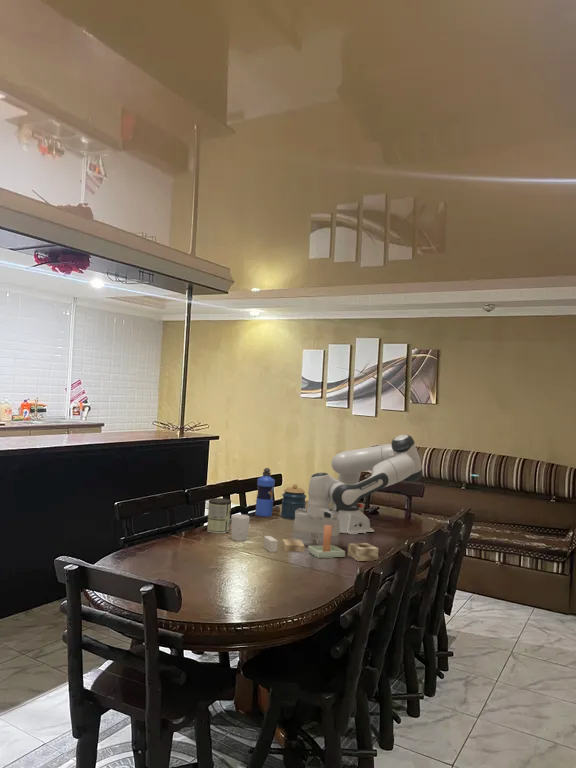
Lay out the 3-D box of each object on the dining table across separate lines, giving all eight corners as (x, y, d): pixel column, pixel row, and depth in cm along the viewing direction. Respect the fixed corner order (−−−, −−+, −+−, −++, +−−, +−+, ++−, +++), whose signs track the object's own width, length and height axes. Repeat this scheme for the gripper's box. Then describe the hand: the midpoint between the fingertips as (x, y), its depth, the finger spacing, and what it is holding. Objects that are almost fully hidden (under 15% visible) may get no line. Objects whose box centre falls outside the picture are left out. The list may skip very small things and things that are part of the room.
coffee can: (204, 528, 269) (207, 497, 269) (226, 528, 272) (228, 498, 272) (208, 533, 259) (211, 502, 259) (231, 533, 262) (233, 502, 263)
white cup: (251, 539, 254) (252, 516, 255) (242, 542, 247) (244, 518, 248) (235, 536, 258) (237, 513, 258) (226, 539, 251) (228, 516, 251)
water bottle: (274, 514, 313) (277, 468, 314) (269, 517, 304) (272, 469, 305) (258, 512, 316) (261, 466, 317) (252, 515, 307) (256, 468, 308)
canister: (282, 514, 316) (284, 481, 317) (306, 516, 315) (308, 483, 315) (278, 518, 304) (281, 484, 304) (303, 521, 302) (305, 487, 302)
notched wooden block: (300, 547, 248) (301, 539, 248) (304, 553, 238) (304, 545, 238) (282, 546, 247) (282, 539, 247) (284, 552, 237) (285, 545, 238)
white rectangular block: (269, 546, 243) (270, 536, 243) (276, 551, 236) (277, 540, 236) (263, 546, 242) (263, 536, 242) (269, 552, 235) (270, 540, 235)
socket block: (366, 554, 241) (367, 542, 241) (377, 561, 233) (378, 548, 233) (347, 555, 238) (348, 543, 238) (358, 561, 229) (359, 549, 229)
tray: (333, 551, 243) (333, 545, 244) (344, 557, 234) (345, 551, 234) (307, 552, 239) (308, 545, 239) (318, 558, 230) (318, 552, 230)
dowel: (329, 551, 238) (331, 525, 239) (330, 554, 235) (332, 526, 235) (321, 551, 238) (323, 524, 238) (323, 553, 235) (324, 526, 235)
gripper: (292, 508, 249) (290, 540, 248) (336, 515, 240) (334, 549, 239) (298, 506, 254) (296, 538, 254) (342, 513, 246) (340, 546, 245)
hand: (315, 543), depth 247 cm, fingers closed
